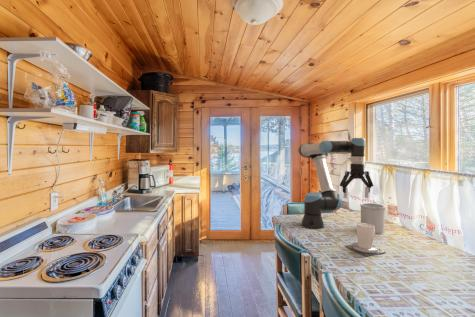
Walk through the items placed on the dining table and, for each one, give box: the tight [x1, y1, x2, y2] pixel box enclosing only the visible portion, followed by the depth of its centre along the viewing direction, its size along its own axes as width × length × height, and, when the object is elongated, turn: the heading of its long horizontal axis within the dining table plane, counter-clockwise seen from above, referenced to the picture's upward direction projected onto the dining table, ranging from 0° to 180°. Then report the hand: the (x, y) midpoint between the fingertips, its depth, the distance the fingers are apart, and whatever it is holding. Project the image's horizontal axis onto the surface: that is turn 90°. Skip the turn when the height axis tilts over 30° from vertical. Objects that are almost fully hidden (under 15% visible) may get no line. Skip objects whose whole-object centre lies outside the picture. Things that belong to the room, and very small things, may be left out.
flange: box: [344, 241, 387, 258], centre depth 135 cm, size 14×14×2 cm
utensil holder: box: [360, 202, 386, 235], centre depth 167 cm, size 15×15×18 cm
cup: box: [355, 222, 376, 249], centre depth 134 cm, size 9×9×12 cm
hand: (355, 197), depth 151 cm, fingers open, 13 cm apart
